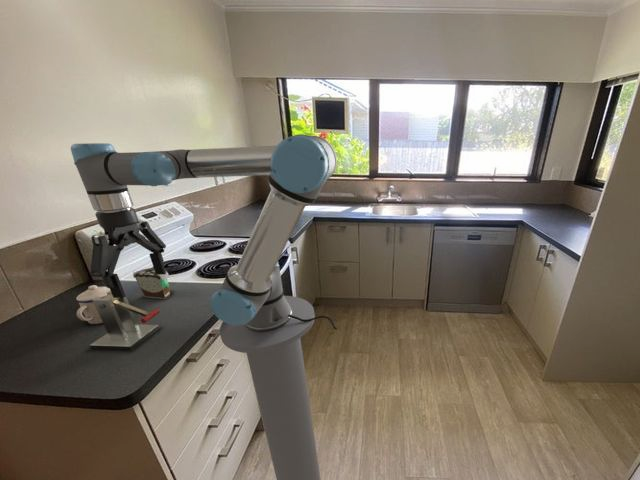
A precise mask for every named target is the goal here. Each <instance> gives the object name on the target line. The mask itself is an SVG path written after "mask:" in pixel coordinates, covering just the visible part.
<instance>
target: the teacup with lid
mask: <svg viewBox="0 0 640 480" xmlns="http://www.w3.org/2000/svg"><path fill="white" fill-rule="evenodd" d="M109 291H111V290H110V288H107V287H106V286H98V285H95V284H92V285H89V286H88V289H87V290H85V291H83V292H81V293H79V294H78V295H77V296H76V300H75V301H76V303H78V304H79V308H78V309H77V310H76V317H77V318H78V319H79V320H80V321H82V322H87V323H88V324H90V325H98V324H103V322H102V320H101V317H100V315H99V313H98V311H97V309H96V306H95V304H94V302H93V300H94V299H95V298H103V297H105V296H107V292H109Z"/></svg>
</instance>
